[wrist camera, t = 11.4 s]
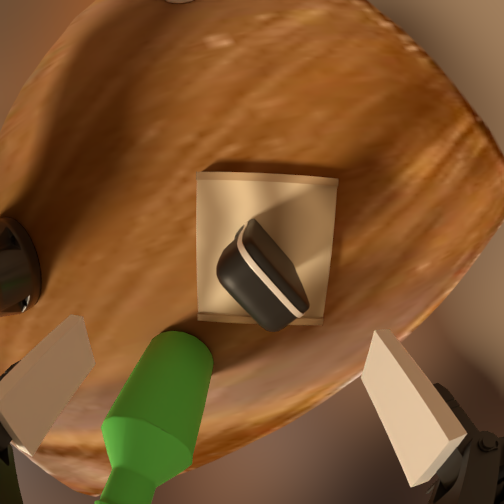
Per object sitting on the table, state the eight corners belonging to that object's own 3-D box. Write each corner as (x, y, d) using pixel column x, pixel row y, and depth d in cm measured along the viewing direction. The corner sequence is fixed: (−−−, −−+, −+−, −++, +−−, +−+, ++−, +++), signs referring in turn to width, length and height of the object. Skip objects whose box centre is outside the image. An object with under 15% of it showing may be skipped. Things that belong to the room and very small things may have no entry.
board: (200, 313, 32) (197, 320, 30) (200, 172, 28) (196, 171, 26) (319, 317, 32) (322, 325, 30) (333, 178, 28) (338, 178, 26)
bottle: (220, 380, 35) (190, 554, 11) (161, 380, 35) (99, 530, 11) (206, 324, 33) (144, 524, 9) (142, 328, 33) (40, 485, 9)
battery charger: (223, 239, 28) (201, 277, 17) (252, 214, 28) (247, 237, 17) (267, 288, 30) (272, 349, 19) (295, 266, 29) (317, 317, 18)
